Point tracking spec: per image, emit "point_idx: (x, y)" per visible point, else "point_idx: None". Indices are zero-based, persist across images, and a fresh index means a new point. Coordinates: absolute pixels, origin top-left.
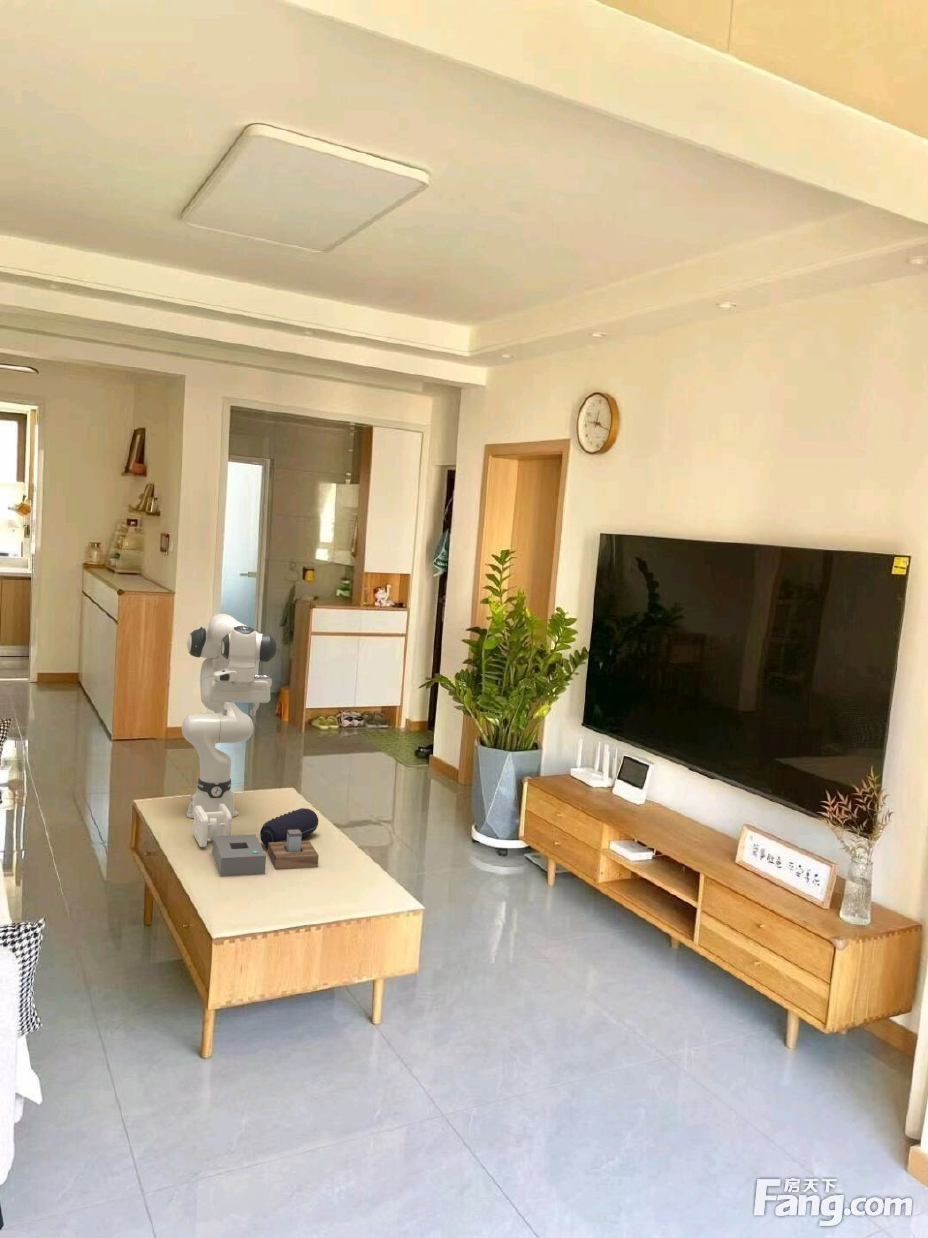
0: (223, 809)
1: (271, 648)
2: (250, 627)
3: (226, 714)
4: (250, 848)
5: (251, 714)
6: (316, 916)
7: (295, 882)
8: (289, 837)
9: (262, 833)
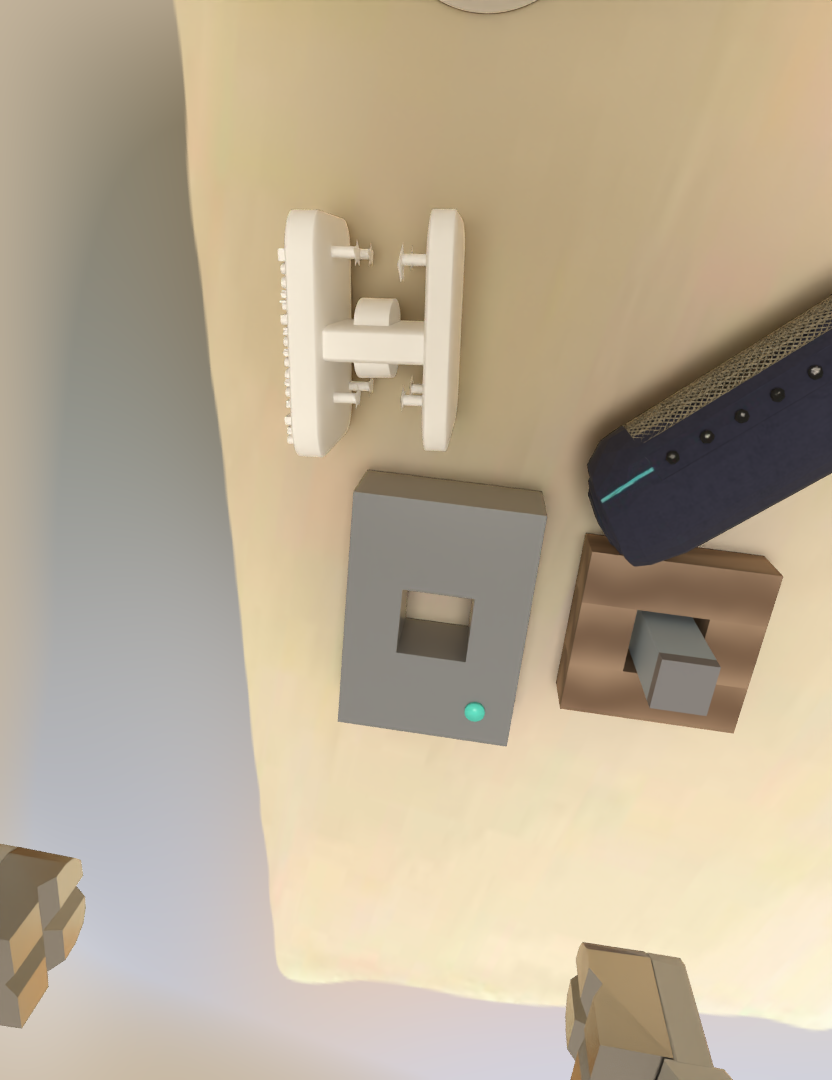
0: (424, 350)
1: None
2: None
3: (61, 945)
4: (471, 665)
5: (573, 1038)
6: (543, 984)
7: (580, 791)
8: (646, 697)
9: (590, 493)
